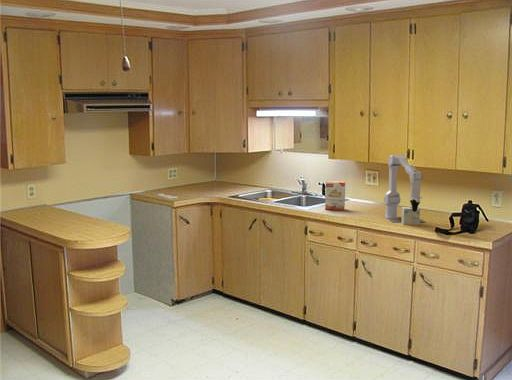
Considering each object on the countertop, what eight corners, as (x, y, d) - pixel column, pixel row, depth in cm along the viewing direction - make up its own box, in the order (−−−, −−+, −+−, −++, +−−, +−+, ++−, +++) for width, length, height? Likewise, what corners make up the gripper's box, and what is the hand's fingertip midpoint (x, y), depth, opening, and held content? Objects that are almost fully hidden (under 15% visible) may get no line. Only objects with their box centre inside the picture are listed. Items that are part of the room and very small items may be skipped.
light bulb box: (417, 222, 364) (417, 206, 362) (419, 225, 357) (420, 208, 356) (400, 222, 364) (401, 206, 363) (403, 225, 358) (403, 208, 356)
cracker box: (325, 209, 409) (325, 181, 405) (325, 208, 414) (326, 180, 411) (344, 210, 405) (344, 182, 402) (344, 209, 411) (345, 181, 408)
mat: (389, 219, 373) (389, 219, 373) (422, 219, 373) (422, 219, 373) (392, 222, 365) (392, 221, 365) (425, 222, 365) (425, 221, 365)
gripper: (425, 192, 342) (424, 213, 344) (418, 188, 357) (417, 209, 359) (413, 192, 342) (412, 213, 345) (407, 188, 357) (406, 209, 359)
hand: (414, 211), depth 352 cm, fingers closed
